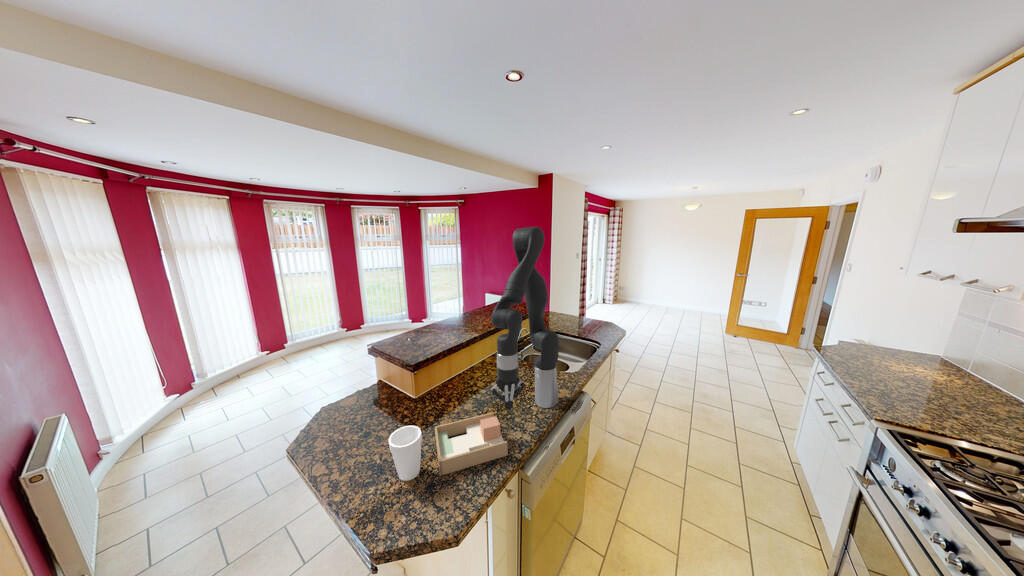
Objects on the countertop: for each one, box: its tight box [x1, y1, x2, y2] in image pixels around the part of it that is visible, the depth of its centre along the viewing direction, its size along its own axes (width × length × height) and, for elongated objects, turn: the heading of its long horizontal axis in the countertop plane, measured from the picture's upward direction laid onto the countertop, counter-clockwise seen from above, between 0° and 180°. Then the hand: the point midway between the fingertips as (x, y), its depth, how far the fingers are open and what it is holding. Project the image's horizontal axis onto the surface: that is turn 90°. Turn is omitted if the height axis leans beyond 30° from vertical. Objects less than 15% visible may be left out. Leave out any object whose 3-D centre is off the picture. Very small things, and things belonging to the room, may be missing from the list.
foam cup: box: [388, 425, 423, 482], centre depth 86 cm, size 10×9×13 cm
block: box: [480, 415, 502, 442], centre depth 99 cm, size 6×5×5 cm
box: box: [434, 412, 509, 477], centre depth 97 cm, size 22×17×5 cm
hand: (508, 409), depth 100 cm, fingers closed
